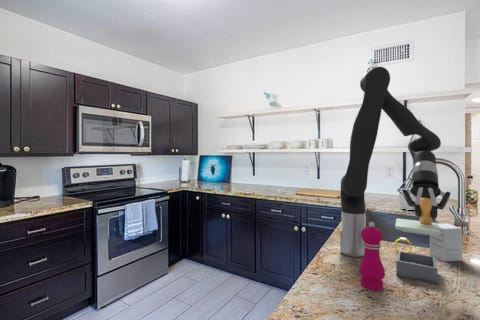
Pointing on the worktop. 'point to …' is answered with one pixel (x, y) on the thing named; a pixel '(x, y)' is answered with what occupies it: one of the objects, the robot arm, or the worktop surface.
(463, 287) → the worktop surface
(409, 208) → the supplement box
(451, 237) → the supplement box
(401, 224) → the lid
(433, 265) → the parts tub
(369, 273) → the pepper mill
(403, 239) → the watch
